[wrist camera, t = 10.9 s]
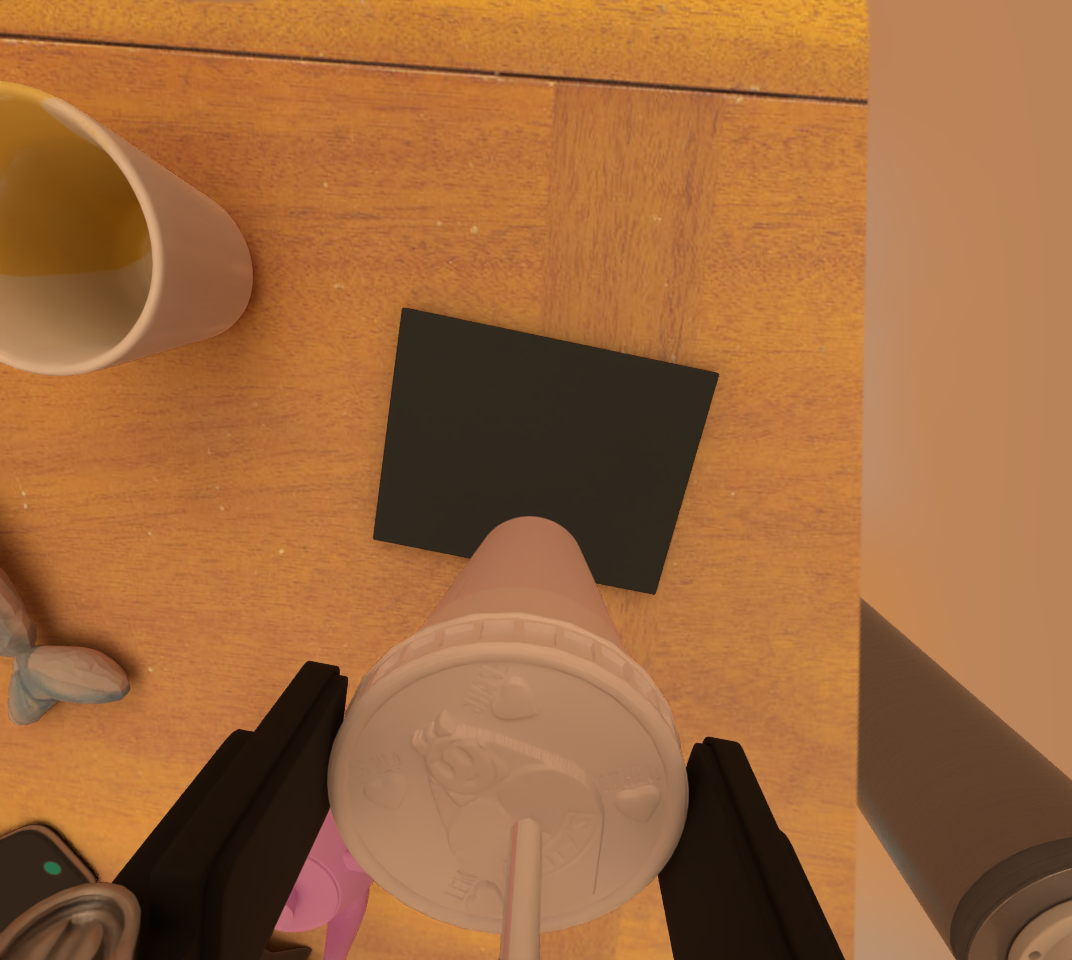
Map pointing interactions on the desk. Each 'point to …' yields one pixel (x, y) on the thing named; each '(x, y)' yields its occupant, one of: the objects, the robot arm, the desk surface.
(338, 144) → the desk surface
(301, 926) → the teapot
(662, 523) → the mat
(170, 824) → the robot arm
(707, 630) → the desk surface
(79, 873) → the smartphone
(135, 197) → the mug
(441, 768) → the smoothie
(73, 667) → the sculpture
